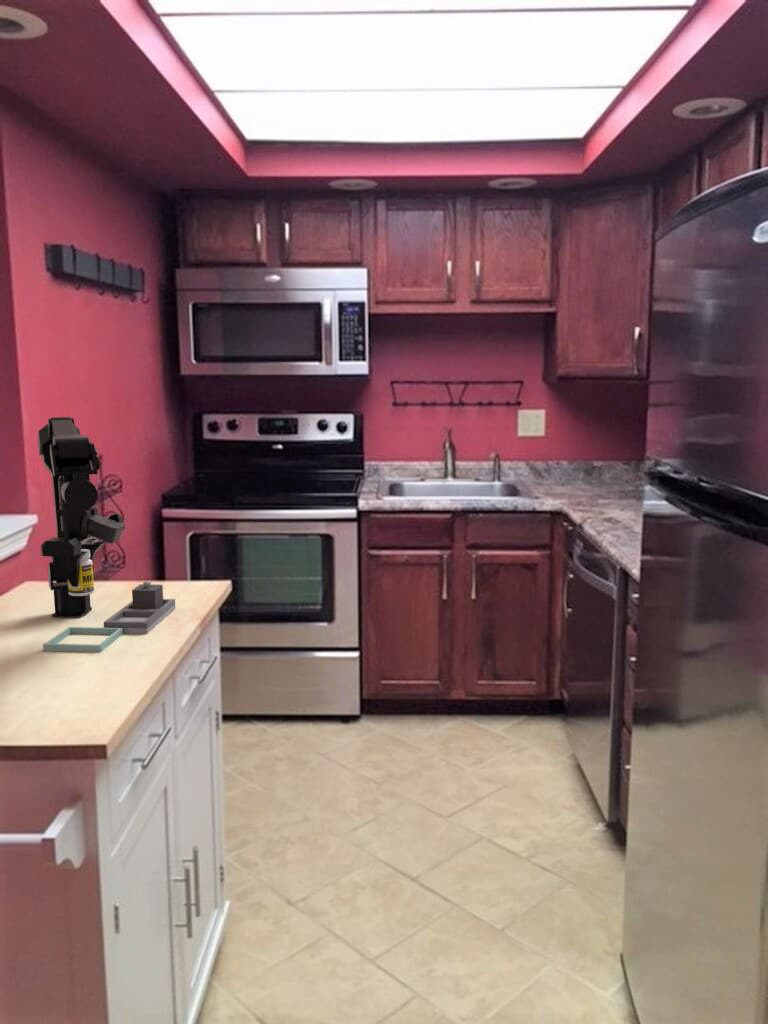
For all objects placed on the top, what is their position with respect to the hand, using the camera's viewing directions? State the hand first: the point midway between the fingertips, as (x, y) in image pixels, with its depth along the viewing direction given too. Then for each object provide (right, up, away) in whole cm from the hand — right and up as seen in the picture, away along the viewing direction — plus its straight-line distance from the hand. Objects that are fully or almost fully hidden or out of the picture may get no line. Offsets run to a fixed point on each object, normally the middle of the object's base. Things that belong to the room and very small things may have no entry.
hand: (80, 583), depth 163 cm
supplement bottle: (0, -2, 0) cm, 2 cm away
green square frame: (0, -12, +2) cm, 12 cm away
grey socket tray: (+7, -9, +16) cm, 20 cm away
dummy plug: (+7, -9, +21) cm, 24 cm away
